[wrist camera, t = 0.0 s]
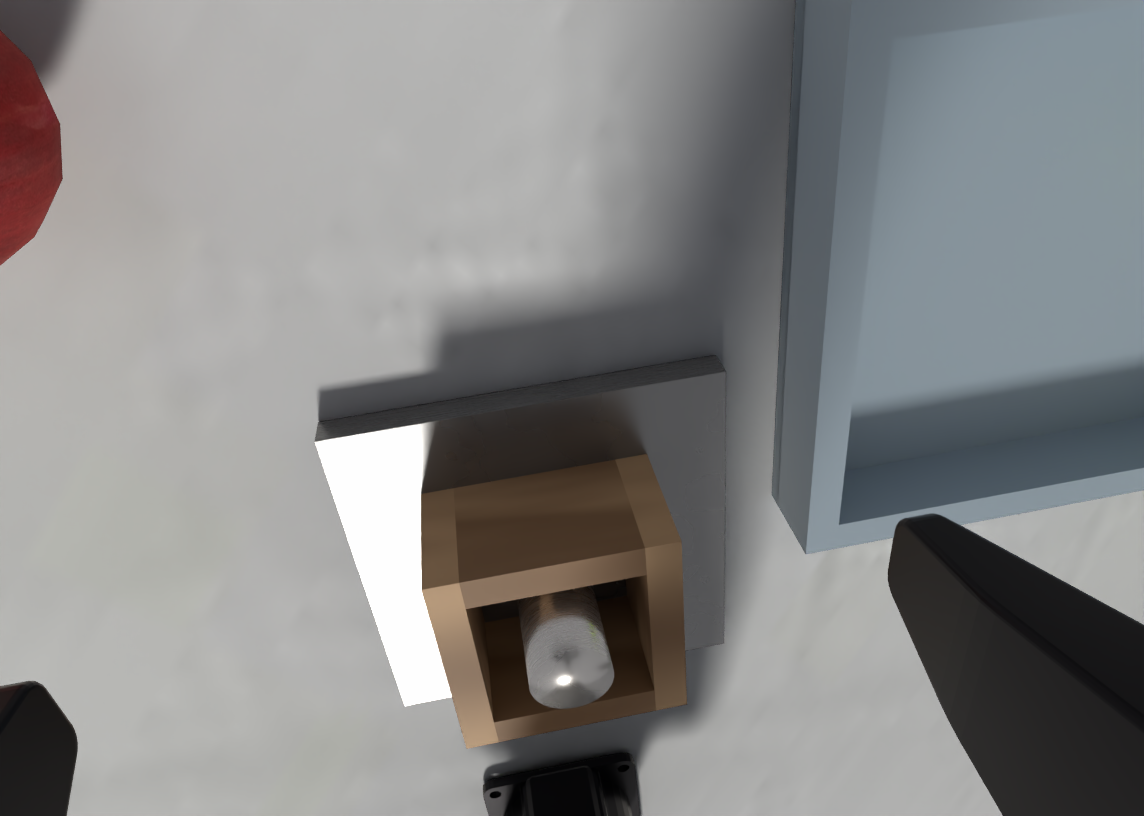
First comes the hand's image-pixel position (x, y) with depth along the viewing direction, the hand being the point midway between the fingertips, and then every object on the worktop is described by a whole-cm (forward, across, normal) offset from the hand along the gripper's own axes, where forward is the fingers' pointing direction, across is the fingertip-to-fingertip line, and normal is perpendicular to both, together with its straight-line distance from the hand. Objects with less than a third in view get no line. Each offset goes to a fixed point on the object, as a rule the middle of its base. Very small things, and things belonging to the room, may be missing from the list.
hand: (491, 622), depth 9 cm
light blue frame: (+15, -17, +4) cm, 23 cm away
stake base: (+15, -1, +12) cm, 19 cm away
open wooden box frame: (+14, -1, +12) cm, 18 cm away
